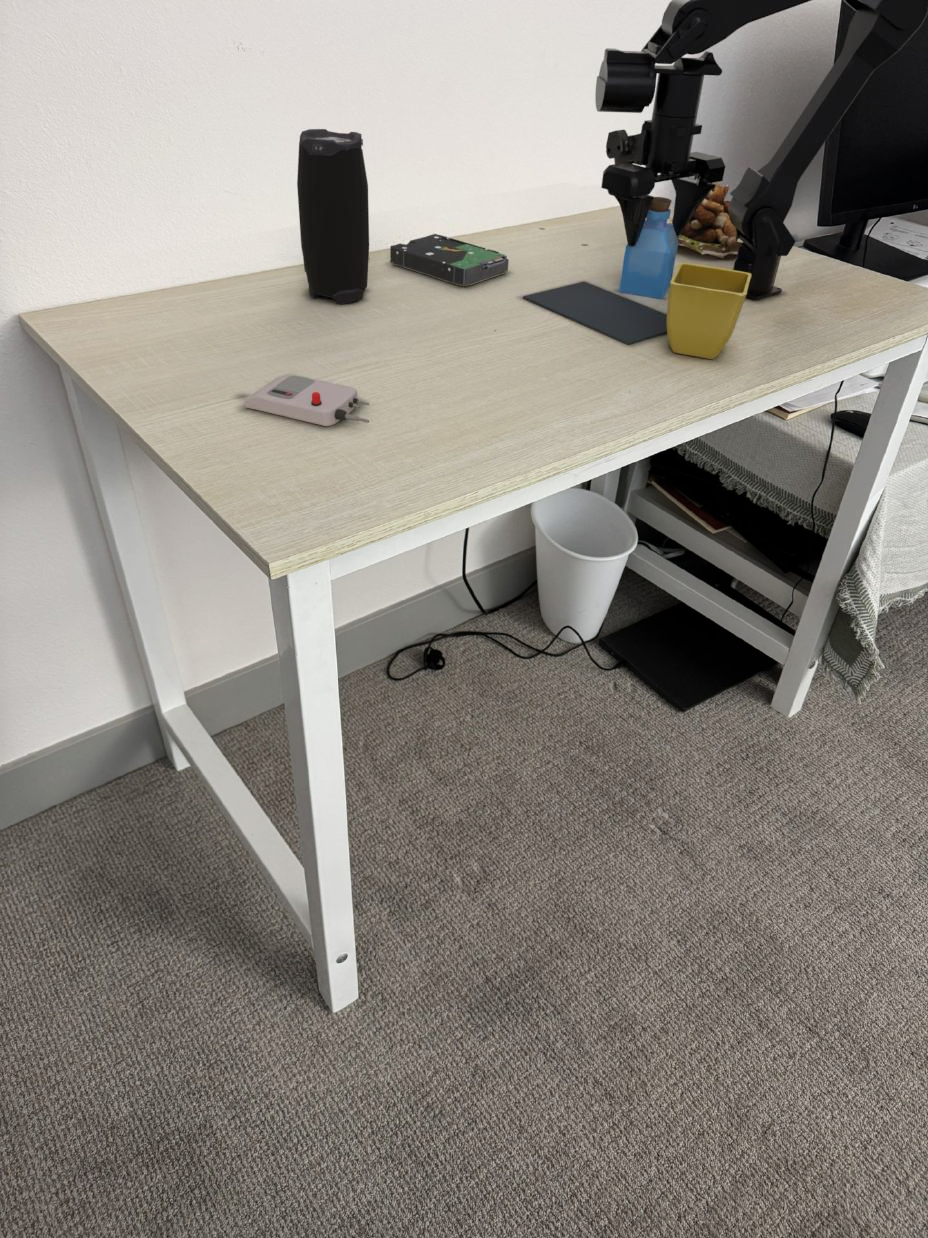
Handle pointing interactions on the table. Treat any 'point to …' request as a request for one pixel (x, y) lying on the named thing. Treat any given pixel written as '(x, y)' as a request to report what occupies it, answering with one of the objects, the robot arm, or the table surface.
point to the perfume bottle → (651, 254)
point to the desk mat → (603, 311)
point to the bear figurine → (711, 226)
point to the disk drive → (449, 259)
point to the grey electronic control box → (306, 400)
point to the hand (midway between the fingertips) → (653, 240)
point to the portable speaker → (333, 214)
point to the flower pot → (704, 308)
